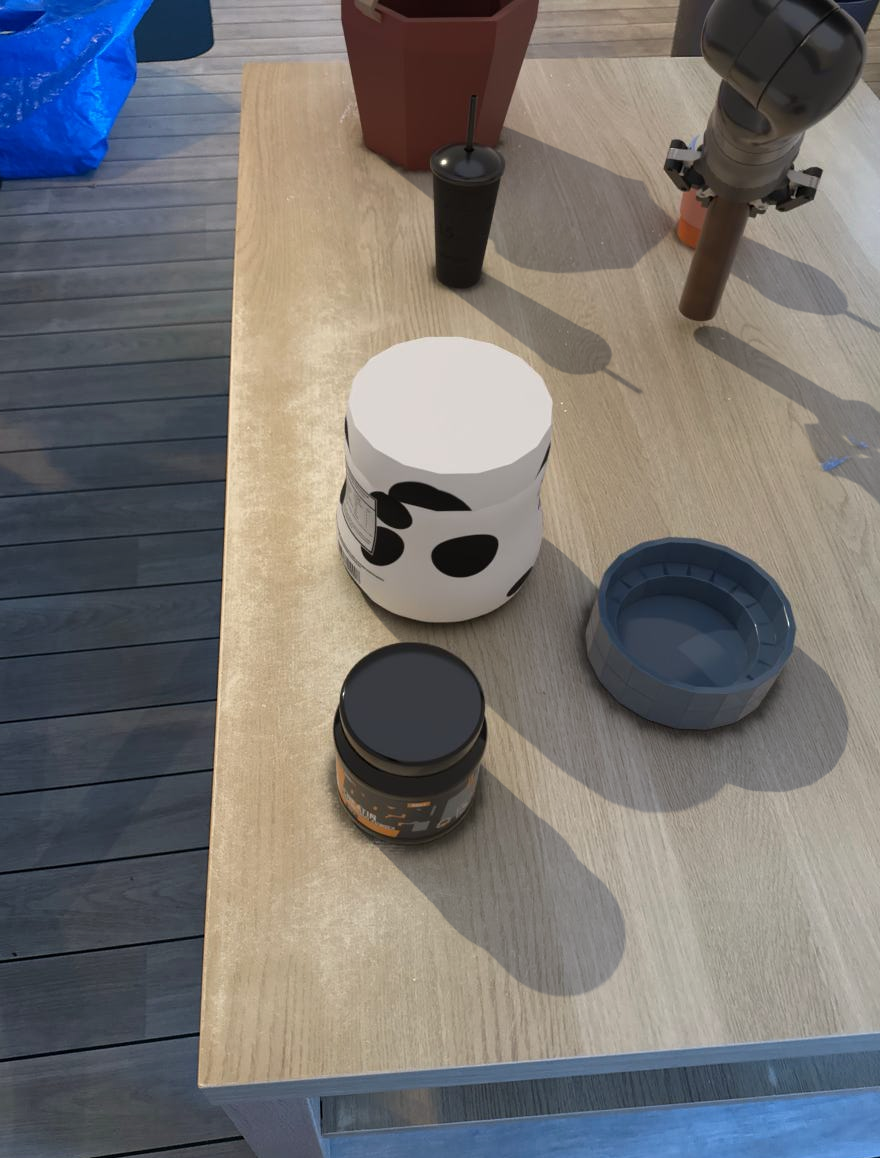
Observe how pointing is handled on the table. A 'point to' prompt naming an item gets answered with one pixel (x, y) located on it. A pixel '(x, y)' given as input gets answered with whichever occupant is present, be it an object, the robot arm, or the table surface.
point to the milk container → (443, 478)
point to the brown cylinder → (713, 258)
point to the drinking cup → (464, 205)
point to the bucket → (433, 70)
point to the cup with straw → (691, 209)
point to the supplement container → (409, 742)
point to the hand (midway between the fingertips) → (730, 201)
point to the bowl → (689, 632)
